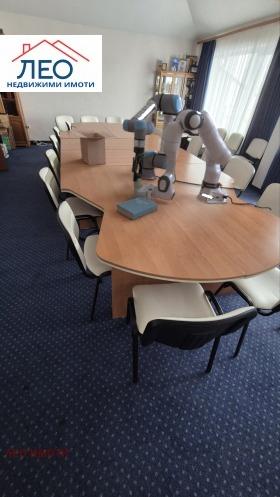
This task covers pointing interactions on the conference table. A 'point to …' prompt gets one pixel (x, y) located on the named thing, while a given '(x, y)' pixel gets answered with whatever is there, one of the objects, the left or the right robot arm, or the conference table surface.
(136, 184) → the jar
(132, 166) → the left robot arm
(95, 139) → the box
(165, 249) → the conference table surface
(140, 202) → the book
